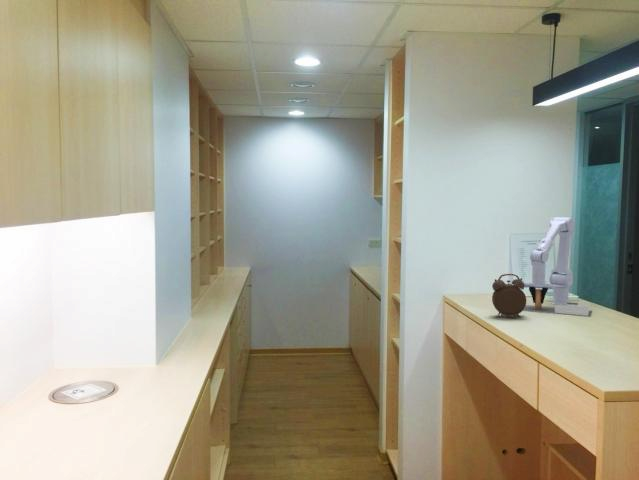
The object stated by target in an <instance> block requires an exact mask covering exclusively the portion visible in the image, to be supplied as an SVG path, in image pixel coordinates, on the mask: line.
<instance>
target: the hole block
mask: <svg viewBox="0 0 639 480" xmlns="http://www.w3.org/2000/svg"><path fill="white" fill-rule="evenodd" d="M554 307H555V313H558V314H557V315H563V314H569V315H568V316H574V315H581V316H580V317H585V316H588V315H589V312H590V310H591V302H587V301H576V300H568V301H564V300H558V301H557V302H556V304H554Z"/></svg>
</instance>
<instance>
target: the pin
mask: <svg viewBox="0 0 639 480" xmlns="http://www.w3.org/2000/svg"><path fill="white" fill-rule="evenodd" d="M541 290H542V288H536V289H535V303H534V306H535V309H537V310H541V309H542V306H543V304H541V299H542V291H541Z"/></svg>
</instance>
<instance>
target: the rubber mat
mask: <svg viewBox="0 0 639 480" xmlns="http://www.w3.org/2000/svg"><path fill="white" fill-rule="evenodd" d="M522 312H531V313H542V314H543V313H544V314H554V315H555V314H556V315H559V314H558V313H555V306H553V307H552V306H543V305H542V309H541V310H537V309H535V305H532V304H531V305H530V304H526V306H525V308H524V310H523V311H522ZM592 313H593V310H591V309H590V312H589V315H588V316H584V317H587V318H591V317H592ZM562 315H564V316H570V315H569V314H562ZM574 316H576V317H582V316H581V315H573V317H574Z"/></svg>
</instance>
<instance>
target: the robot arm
mask: <svg viewBox="0 0 639 480" xmlns="http://www.w3.org/2000/svg"><path fill="white" fill-rule="evenodd" d="M574 231H575V220H574V219H573V217H571V216H570V217H562V216H560V217H559V216H558V217H557V216H553V217H551V219H550V221H549V229H548V231H547V234H546V236H545V238H542V239H541V240H540V242H539V243H538V245H537V247H536V248H535V250H533V251H531V252H530V255H529V259H530V262H531V263H530V264H531V266H532V273H531V274H532V281H531V282H523V283H524V285H525V286H524V288H528V291H529V292H530V295H531V297H532V303H533V304H535V289H541V291H542V299H541V304H542V305H543V304H544V301H545V297H546V295H547V292H548V291H549V290H552V301H551V303H550V304H551V305H555V304H556V302H557V301H558V300H564V301H569V293H570V292H569V289H570V287H571V286H573V282H574V277H573V271H571V269H570V268H569V267H568V266H569V265H568V264H569V257H570V248H571V239H572V235H573V234H574ZM558 235H559V242H558V249H557V259H556V266H555V267H554V268H553V269H551V272H550V275H549V277H548V279H549V283H546V263H547V261H548V260H549V255H550V252H551V249H552V248H553V246H554V243H553V241H554V240H555V239H556V238H557V236H558Z"/></svg>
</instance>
